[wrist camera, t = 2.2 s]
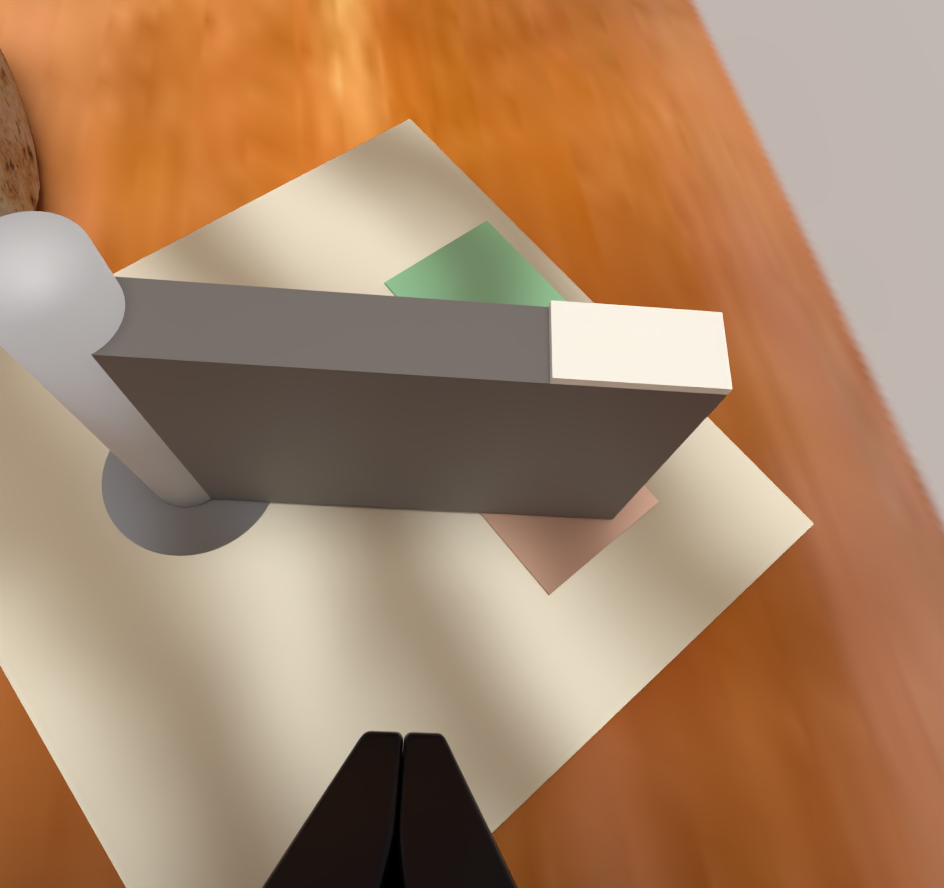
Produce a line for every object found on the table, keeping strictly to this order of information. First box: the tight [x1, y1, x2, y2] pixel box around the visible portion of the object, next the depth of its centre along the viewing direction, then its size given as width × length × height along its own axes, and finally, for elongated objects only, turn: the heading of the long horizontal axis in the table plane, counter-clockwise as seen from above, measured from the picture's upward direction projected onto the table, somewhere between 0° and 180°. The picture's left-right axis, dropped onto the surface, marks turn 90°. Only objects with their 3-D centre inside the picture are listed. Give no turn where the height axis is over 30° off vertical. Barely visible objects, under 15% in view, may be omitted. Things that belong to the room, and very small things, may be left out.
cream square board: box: [0, 119, 814, 888], centre depth 19 cm, size 18×18×1 cm
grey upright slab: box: [0, 211, 732, 519], centre depth 14 cm, size 12×2×8 cm, turn 88°
